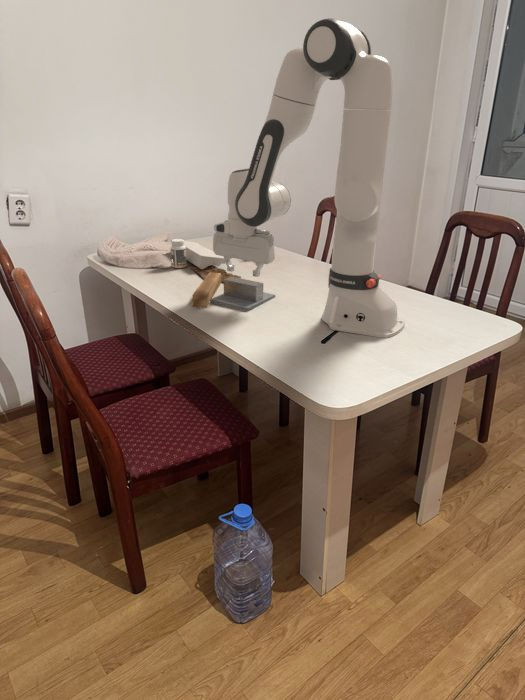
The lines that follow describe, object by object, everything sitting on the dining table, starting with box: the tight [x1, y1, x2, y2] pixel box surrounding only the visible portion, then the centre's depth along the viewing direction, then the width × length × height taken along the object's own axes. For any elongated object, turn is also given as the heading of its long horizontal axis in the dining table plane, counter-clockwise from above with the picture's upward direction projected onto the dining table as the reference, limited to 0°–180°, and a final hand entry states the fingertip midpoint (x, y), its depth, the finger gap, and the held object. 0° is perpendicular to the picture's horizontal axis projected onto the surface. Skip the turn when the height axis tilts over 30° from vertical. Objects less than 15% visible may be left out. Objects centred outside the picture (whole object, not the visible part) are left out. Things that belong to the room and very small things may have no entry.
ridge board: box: [209, 276, 276, 312], centre depth 156 cm, size 14×15×6 cm
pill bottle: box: [170, 238, 188, 269], centre depth 189 cm, size 6×6×10 cm
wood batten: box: [191, 273, 222, 308], centre depth 161 cm, size 4×24×4 cm, turn 173°
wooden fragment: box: [191, 266, 242, 283], centre depth 180 cm, size 26×11×1 cm, turn 38°
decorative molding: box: [184, 240, 226, 269], centre depth 199 cm, size 34×5×10 cm
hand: (243, 273), depth 153 cm, fingers open, 8 cm apart
